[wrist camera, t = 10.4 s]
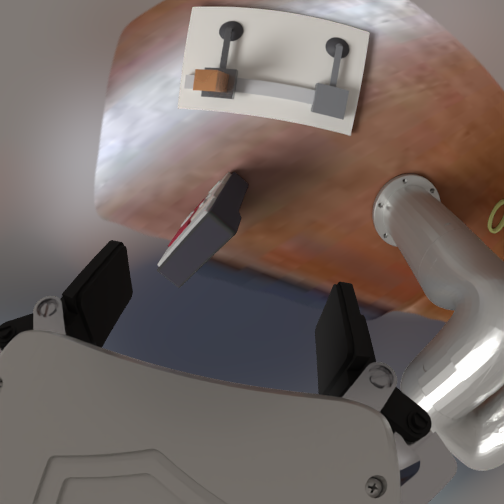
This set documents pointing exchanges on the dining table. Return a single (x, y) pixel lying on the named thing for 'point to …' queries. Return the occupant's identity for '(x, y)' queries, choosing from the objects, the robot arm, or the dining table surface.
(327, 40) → the gauge board
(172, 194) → the dining table surface
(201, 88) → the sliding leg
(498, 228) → the key
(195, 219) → the calculator
